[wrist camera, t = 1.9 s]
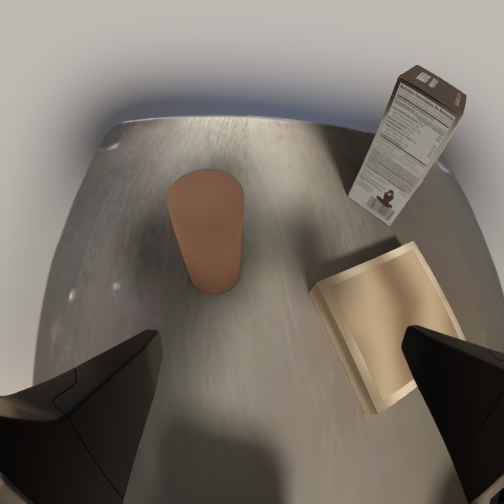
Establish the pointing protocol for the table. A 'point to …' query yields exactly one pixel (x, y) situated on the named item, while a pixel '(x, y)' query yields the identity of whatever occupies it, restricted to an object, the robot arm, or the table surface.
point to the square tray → (381, 321)
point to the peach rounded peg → (208, 227)
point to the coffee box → (407, 142)
